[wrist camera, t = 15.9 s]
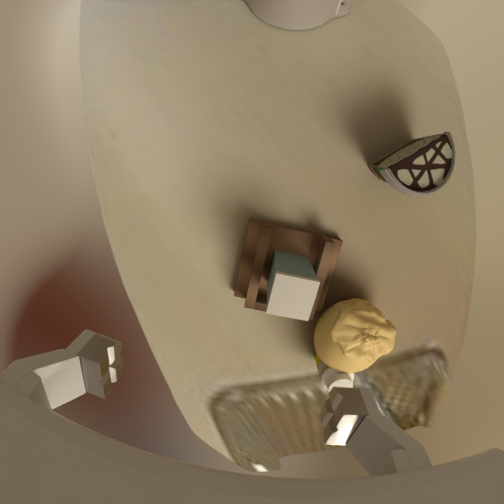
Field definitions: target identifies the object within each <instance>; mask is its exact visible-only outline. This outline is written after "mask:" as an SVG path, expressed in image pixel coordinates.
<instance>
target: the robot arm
mask: <svg viewBox="0 0 504 504" xmlns="http://www.w3.org/2000/svg"><path fill="white" fill-rule="evenodd" d="M244 1H245V2H246V3H247V5H248V6H249V8H250V10H251V11H252V12H253V13H254V14H255V15H256V16H257V17H258V18H259V19H261V20H262V21H264V22H266V23H268V24H270V25H273V26H276V27H279V28H283V29H290V30H305V29H311V28H315V27H318V26H320V25H322V24H324V23H325V22H327V21H328V20H330V19H332V18H335V17H341V16H345V15H347V14H348V12H349V5H348V0H244ZM341 4H343V5H341ZM121 350H122V349H121V343H120V342H119V341H117V340H114V339H111V338H108V337H106V336H103V335H101V334H97V333H95V332H92V331H90V330H85V331H83V332H82V333H81V334H80V336H78V337H77V338H76V339H75V340H74V341H73V343H72V344H70V345H69V346H68V347H67V349H66V350H64V349H59V350H56V351H52V352H48V353H44V354H40V355H36V356H32V357H28V358H24V359H20V360H15V361H14V362H13V363H12V364H11V365H10V366H8V367H7V368H6V369H5V370H4V371H3V372H2V373H1V374H0V504H504V451H502V450H500V449H498V448H491V449H488V450H486V451H483V452H480V453H477V454H474V455H471V456H468V457H465V458H461V459H458V460H455V461H451V462H447V463H444V464H439V465H435V466H432V464H431V462H430V459H429V457H428V455H427V453H426V450H425V448H424V446H423V445H422V444H421V443H419V442H418V441H417V440H415V439H414V438H413V437H411V436H410V435H409V434H407V433H406V432H405V431H404V430H402V429H401V428H400V427H398V426H397V425H396V424H394V423H393V422H392V421H391V420H389V419H388V418H387V417H385V416H381V414H380V412H379V409H378V407H377V404H376V402H375V399H374V397H373V394H372V392H371V390H370V389H369V388H351V387H336V386H334V387H333V388H332V389H331V390H330V392H329V396H330V398H329V399H328V400H326V401H325V402H324V404H323V406H322V410H321V423H322V424H323V425H324V426H325V429H324V431H323V436H324V441H325V444H328V445H345V447H346V448H347V449H348V450H349V451H350V453H351V454H352V455H353V456H354V457H355V459H356V460H357V461H358V462H359V463H360V464H361V465H362V467H363V468H364V469H365V470H366V471H367V472H368V473H369V475H370V476H366V477H353V478H331V479H304V478H282V477H269V476H259V475H250V474H243V473H236V472H229V471H224V470H218V469H213V468H207V467H203V466H198V465H194V464H189V463H185V462H181V461H177V460H173V459H169V458H166V457H163V456H159V455H156V454H153V453H150V452H146V451H143V450H140V449H137V448H134V447H131V446H129V445H126V444H123V443H120V442H118V441H116V440H113V439H111V438H108V437H106V436H103V435H101V434H98V433H96V432H94V431H92V430H89V429H87V428H85V427H83V426H80V425H78V424H77V423H74V422H72V421H70V420H68V419H66V418H64V417H62V416H61V415H59V414H57V413H55V412H53V411H52V409H54V408H56V407H58V406H60V405H62V404H64V403H66V402H68V401H70V400H72V399H74V398H76V397H78V396H80V395H82V394H84V393H86V392H89V393H91V394H94V395H96V396H99V397H101V398H104V399H105V398H106V397H107V395H108V394H109V392H110V391H111V389H112V383H113V382H115V381H117V380H118V378H119V376H120V374H121V371H122V358H121V357H120V355H119V353H120V352H121Z"/></svg>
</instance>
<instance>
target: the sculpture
mask: <svg viewBox="0 0 504 504" xmlns="http://www.w3.org/2000/svg"><path fill="white" fill-rule="evenodd" d="M395 334H396V328H395V326H394V325H393V324H392V323H391V322H390V321H389V320H386V319H385V318H384V314H383V313H382V312H381V311H380V310H379V309H378V308H376V307H374V306H373V305H372V304H371V303H369V301H368V300H362V299H359V298H351V299H349V300H344V301H340V302H337V303H335V304H333V305H332V306H330V307H329V308H328V309H327V310H326V311H325V312H324V313H323V314H322V316H321V317H320V319H319V321H318V323H317V325H316V328H315V333H314V346H315V350H316V352H317V354H318V356H319V358H320V359H321V360H322V361H323V362H324V363H325V364H326V365H327V366H328V367H330V368H332V369H334V370H337V371H339V372H343V373H354V372H359V371H362V370H364V369H366V368H368V367H369V366H370V365H372V364H373V363H374V362H375V361H376V360H377V359H378V358H379V357H380V356H382V355H386V354H388V353H389V352H391V350H392V349H393V346H394V342H395Z"/></svg>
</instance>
